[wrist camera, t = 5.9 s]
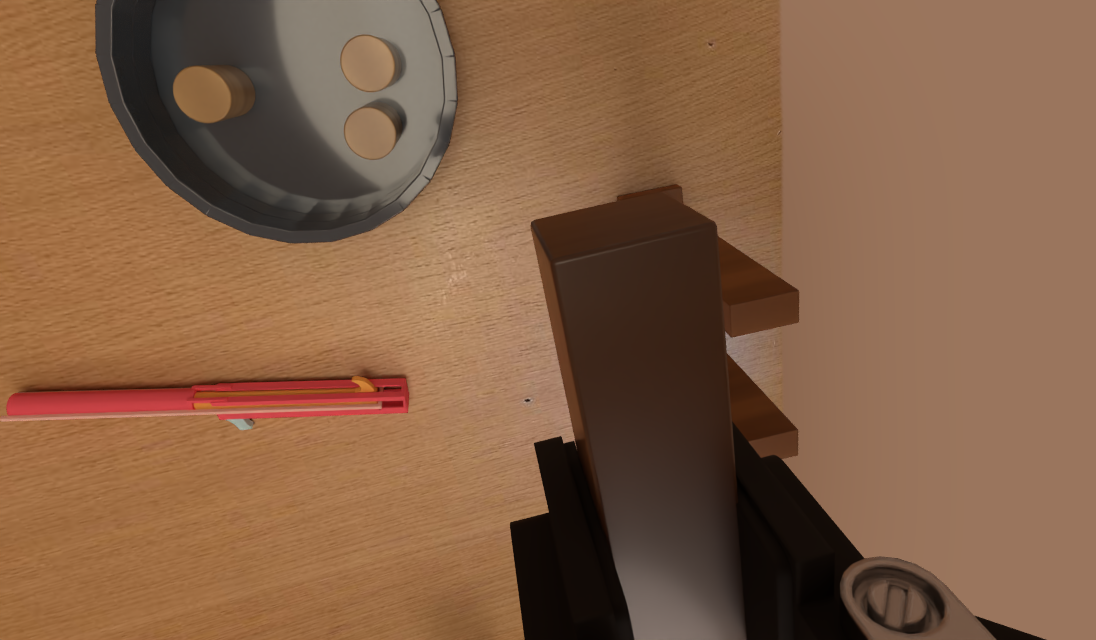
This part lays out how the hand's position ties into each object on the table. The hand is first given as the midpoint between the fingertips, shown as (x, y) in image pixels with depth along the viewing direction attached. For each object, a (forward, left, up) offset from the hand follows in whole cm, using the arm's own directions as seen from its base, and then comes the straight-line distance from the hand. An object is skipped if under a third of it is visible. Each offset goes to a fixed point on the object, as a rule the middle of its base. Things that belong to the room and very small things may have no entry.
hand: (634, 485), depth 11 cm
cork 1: (+10, -13, -28) cm, 32 cm away
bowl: (+6, -11, -28) cm, 31 cm away
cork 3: (+4, -7, -28) cm, 29 cm away
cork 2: (+3, -10, -28) cm, 30 cm away
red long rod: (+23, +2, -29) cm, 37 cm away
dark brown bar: (0, 0, +1) cm, 1 cm away
